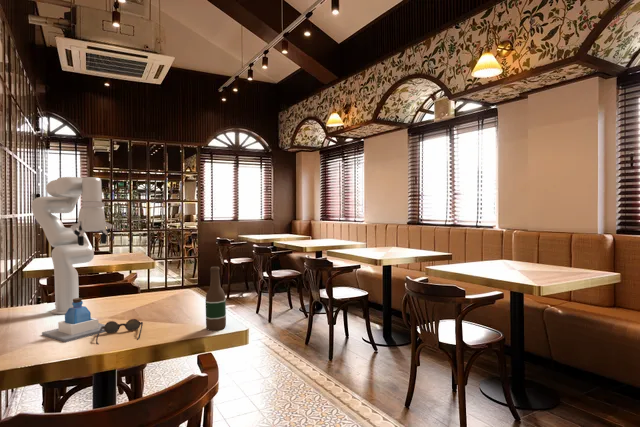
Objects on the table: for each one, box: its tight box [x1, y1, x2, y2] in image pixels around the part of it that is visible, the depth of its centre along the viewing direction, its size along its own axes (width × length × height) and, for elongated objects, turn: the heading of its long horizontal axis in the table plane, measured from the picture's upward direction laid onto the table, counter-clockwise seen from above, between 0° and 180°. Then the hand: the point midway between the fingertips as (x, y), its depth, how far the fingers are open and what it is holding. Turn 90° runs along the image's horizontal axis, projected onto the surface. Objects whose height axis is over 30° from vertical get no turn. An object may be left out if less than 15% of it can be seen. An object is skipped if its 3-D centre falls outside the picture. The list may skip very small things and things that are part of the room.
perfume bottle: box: [64, 297, 92, 324], centre depth 157 cm, size 6×6×12 cm
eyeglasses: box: [95, 318, 144, 345], centre depth 150 cm, size 15×15×5 cm
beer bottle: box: [205, 266, 227, 332], centre depth 158 cm, size 8×8×24 cm
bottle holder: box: [41, 317, 107, 343], centre depth 157 cm, size 18×18×4 cm
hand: (92, 244), depth 177 cm, fingers open, 9 cm apart
